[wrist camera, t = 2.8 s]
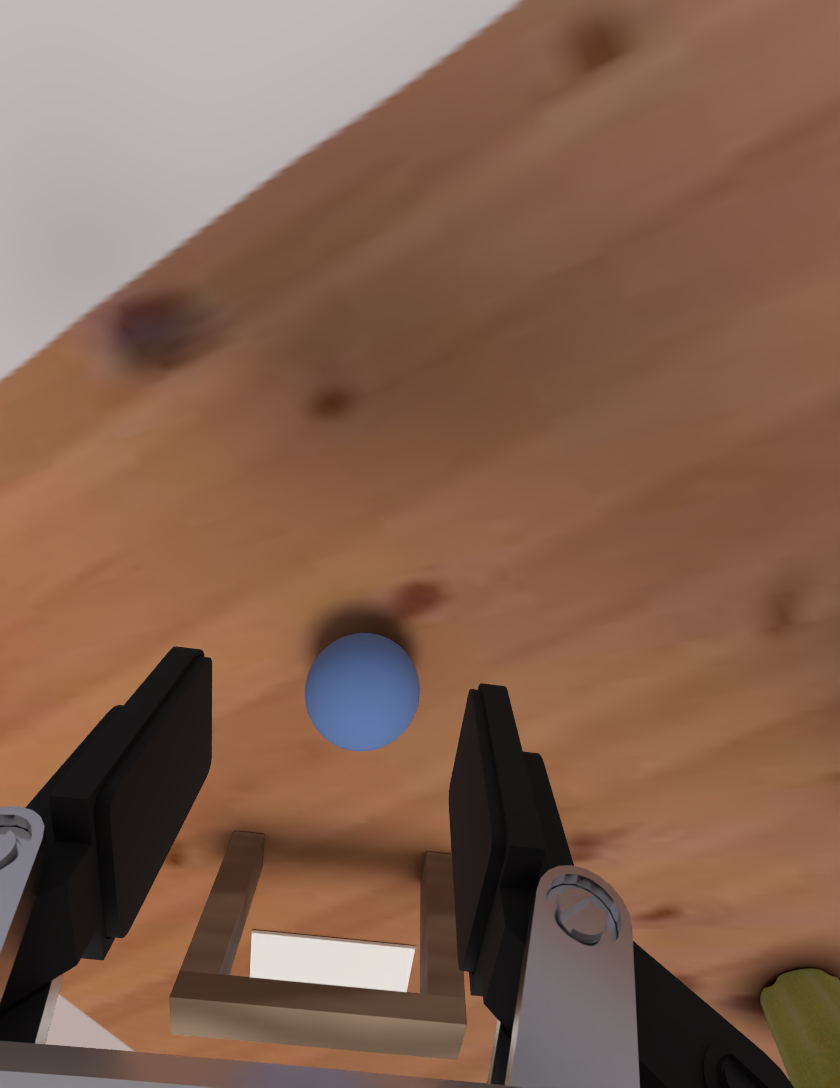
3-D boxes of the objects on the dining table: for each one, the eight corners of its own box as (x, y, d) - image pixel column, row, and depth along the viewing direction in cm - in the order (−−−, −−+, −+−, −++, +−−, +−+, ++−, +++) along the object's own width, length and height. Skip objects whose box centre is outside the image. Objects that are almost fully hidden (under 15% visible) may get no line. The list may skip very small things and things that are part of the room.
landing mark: (252, 929, 39) (251, 932, 39) (415, 945, 39) (415, 948, 39) (248, 1030, 43) (247, 1033, 43) (395, 1044, 43) (395, 1047, 43)
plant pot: (744, 1039, 43) (818, 1200, 35) (728, 966, 40) (806, 1123, 32) (864, 1016, 42) (970, 1176, 34) (857, 939, 39) (972, 1095, 31)
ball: (320, 606, 30) (296, 667, 24) (426, 620, 30) (427, 683, 24) (313, 696, 32) (289, 770, 26) (412, 707, 32) (410, 784, 26)
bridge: (234, 831, 36) (169, 997, 26) (455, 854, 36) (466, 1024, 27) (233, 863, 37) (170, 1034, 27) (448, 885, 37) (457, 1059, 28)
